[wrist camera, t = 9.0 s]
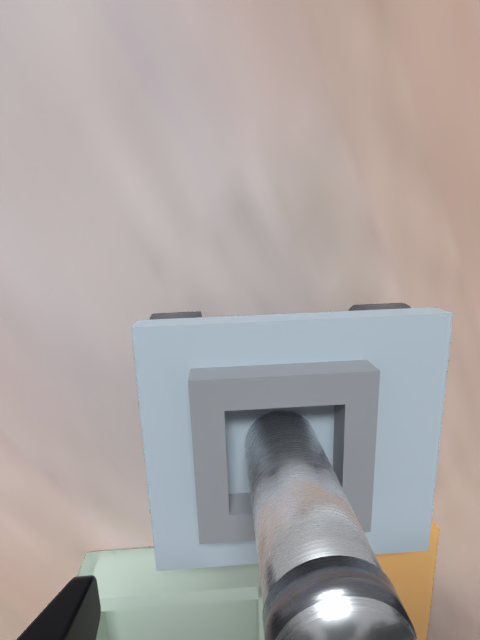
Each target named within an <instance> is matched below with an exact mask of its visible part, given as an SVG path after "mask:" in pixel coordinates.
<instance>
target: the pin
mask: <svg viewBox="0 0 480 640" xmlns="http://www.w3.org/2000/svg"><path fill="white" fill-rule="evenodd" d="M244 446H245V455H246V463H247V472H248V480H249V488H250V497H251V505H252V513H253V522H254V530H255V539H256V547H257V555H258V564H259V572H260V580H261V589H262V597H263V605H264V607H263V614H262V620H263V629H264V638H265V640H417V637H416V632H415V629H414V626H413V624H412V622H411V620H410V618H409V616H408V614H407V612H406V610H405V608H404V606H403V604H402V602H401V600H400V598H399V596H398V594H397V592H396V590H395V588H394V586H393V584H392V583H391V581H390V579H389V578H388V577H387V575H386V574H385V573H384V572H383V570H382V568H381V566H380V564H379V562H378V560H377V558H376V556H375V554H374V552H373V550H372V548H371V546H370V544H369V542H368V539H367V537H366V535H365V533H364V531H363V529H362V527H361V525H360V523H359V521H358V519H357V517H356V515H355V513H354V511H353V509H352V507H351V505H350V503H349V501H348V499H347V497H346V495H345V493H344V491H343V488H342V486H341V484H340V482H339V480H338V478H337V476H336V474H335V472H334V470H333V468H332V466H331V464H330V462H329V460H328V458H327V456H326V454H325V452H324V450H323V448H322V446H321V444H320V442H319V440H318V437H317V435H316V433H315V431H314V429H313V427H312V426H311V424H310V423H309V422H308V421H307V420H306V419H305V418H304V417H303V416H301V415H299V414H297V413H295V412H291V411H285V410H280V411H273V412H270V413H267V414H265V415H263V416H261V417H260V418H258V419H257V420H256V421H255V422H254V423H253V424H252V425H251V426H250V428H249V430H248V432H247V434H246V437H245V444H244Z"/></svg>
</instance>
